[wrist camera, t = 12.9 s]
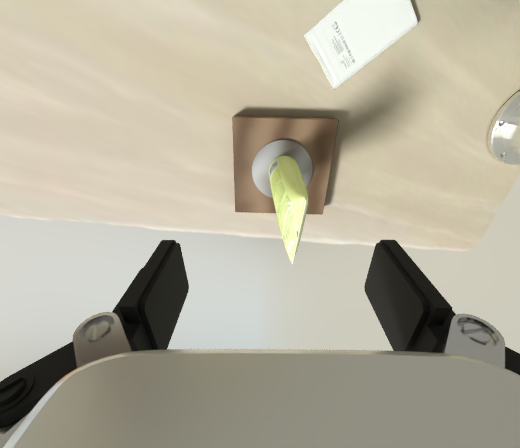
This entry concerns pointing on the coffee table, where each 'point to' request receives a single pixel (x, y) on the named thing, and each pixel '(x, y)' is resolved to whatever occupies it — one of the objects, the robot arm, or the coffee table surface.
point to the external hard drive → (358, 34)
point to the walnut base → (281, 144)
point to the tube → (289, 200)
